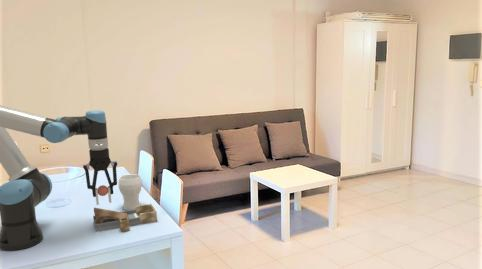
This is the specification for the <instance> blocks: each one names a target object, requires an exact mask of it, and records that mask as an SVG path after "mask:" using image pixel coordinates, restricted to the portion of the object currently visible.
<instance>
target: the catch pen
mask: <svg viewBox="0 0 482 269" xmlns="http://www.w3.org/2000/svg"><path fill="white" fill-rule="evenodd" d="M136 214H137V215H138V217H140V222H141V224H140V225H145V224H150V223H156V222H158V217H157V215H158V214H157V210H156V209H155V207H154V206H153V204H152V203H148V204H141V205H140V206H136Z"/></svg>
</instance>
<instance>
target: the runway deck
mask: <svg viewBox="0 0 482 269" xmlns="http://www.w3.org/2000/svg"><path fill="white" fill-rule="evenodd" d="M120 212H123V213H127V215H128V217H129V227H134V226H139V225H142V224H141V222H140V217H138V215H137V214H136V209H134V210H123V211H122V210H121V211H120ZM92 219H93V225H94V229H95V233H99V232H100V233H101V232H104V231H105V232H106V231H111V230H116V229H120V223H119V220H116V219H110V218H104V217H103V223H100V224H97V223H96V217H95V215H93V218H92Z"/></svg>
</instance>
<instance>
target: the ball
mask: <svg viewBox="0 0 482 269" xmlns="http://www.w3.org/2000/svg"><path fill="white" fill-rule="evenodd" d="M97 190H98V196H100V197H104V196H105V197H106V195H108V186H107V185H104V184H103V185H99V186H98V187H97Z"/></svg>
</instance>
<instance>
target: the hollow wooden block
mask: <svg viewBox="0 0 482 269" xmlns="http://www.w3.org/2000/svg"><path fill="white" fill-rule="evenodd" d="M119 223H120V228H119V229H120V232H121V233H124V232H129V231H130V229H131V228H130V226H129V219H128V217H126V218H120V219H119Z"/></svg>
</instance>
